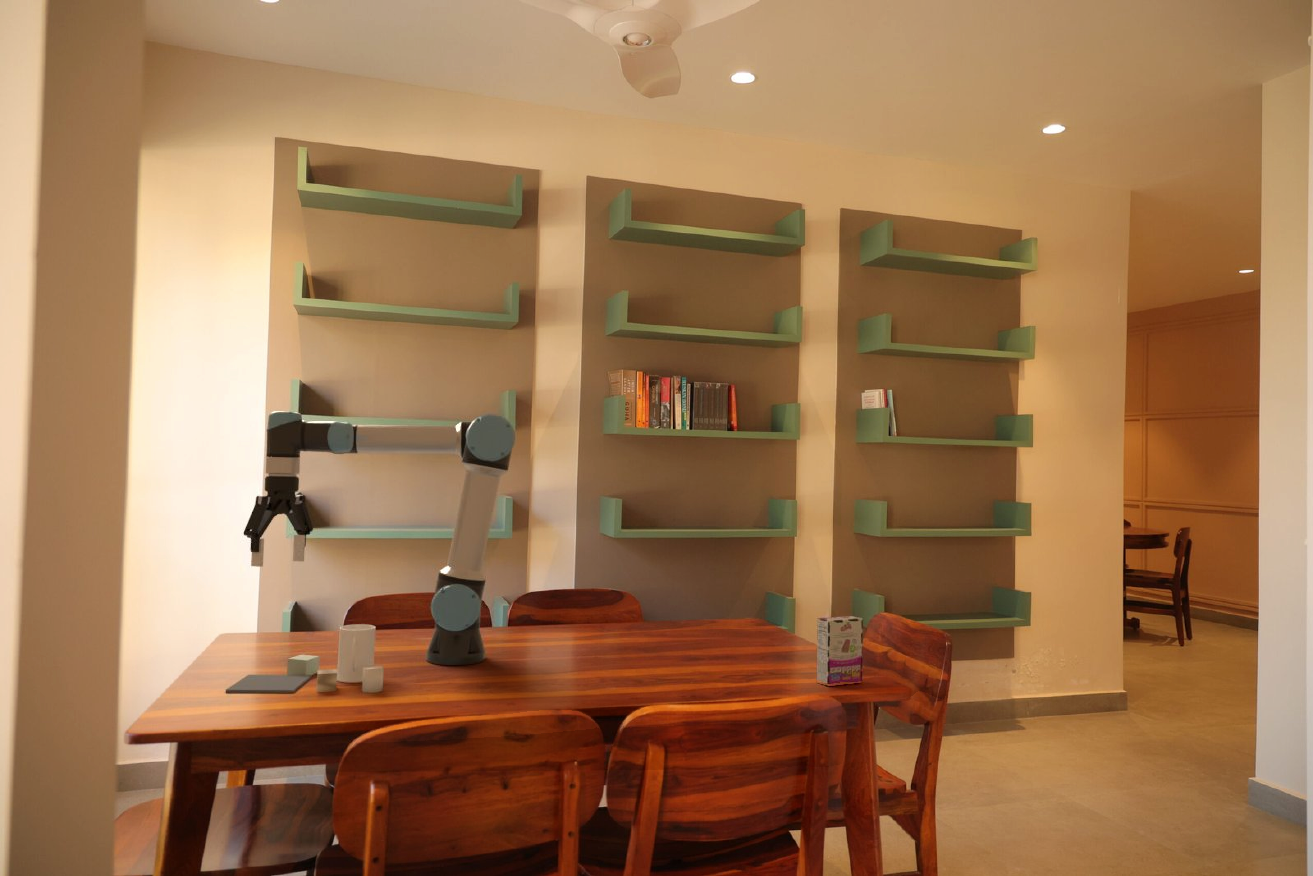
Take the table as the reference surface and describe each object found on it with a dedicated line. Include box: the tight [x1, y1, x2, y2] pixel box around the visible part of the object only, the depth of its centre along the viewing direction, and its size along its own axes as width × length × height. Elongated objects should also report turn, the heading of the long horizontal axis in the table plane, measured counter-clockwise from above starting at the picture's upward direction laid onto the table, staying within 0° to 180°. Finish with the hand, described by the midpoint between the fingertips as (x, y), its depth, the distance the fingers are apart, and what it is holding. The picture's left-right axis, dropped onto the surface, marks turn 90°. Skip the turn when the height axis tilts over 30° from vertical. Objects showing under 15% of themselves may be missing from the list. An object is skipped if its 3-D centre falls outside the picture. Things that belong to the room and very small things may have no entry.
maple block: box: [316, 668, 338, 693], centre depth 186 cm, size 4×4×4 cm
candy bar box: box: [816, 615, 864, 684], centre depth 210 cm, size 11×5×16 cm, turn 117°
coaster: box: [225, 674, 312, 694], centre depth 187 cm, size 14×14×1 cm
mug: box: [336, 623, 377, 684], centre depth 195 cm, size 12×8×12 cm
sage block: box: [286, 654, 320, 676], centre depth 199 cm, size 5×5×4 cm
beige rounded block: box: [361, 664, 385, 694], centre depth 186 cm, size 4×4×5 cm
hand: (278, 563), depth 200 cm, fingers open, 13 cm apart
